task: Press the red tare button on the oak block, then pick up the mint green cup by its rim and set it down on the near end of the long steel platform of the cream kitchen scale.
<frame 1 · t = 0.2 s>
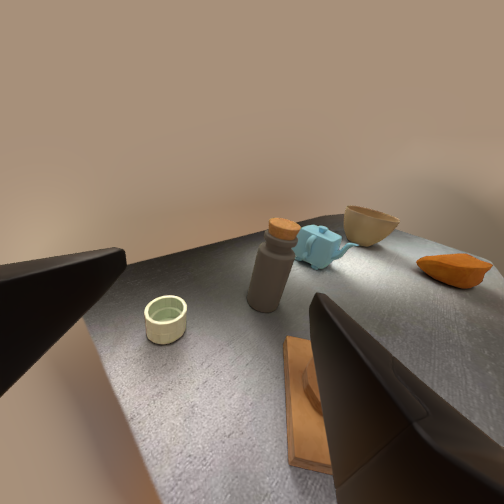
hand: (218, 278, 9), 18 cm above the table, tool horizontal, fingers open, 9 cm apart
flower pot: (357, 242, 75), on the table
bottle: (262, 301, 34), on the table
bread: (440, 277, 60), on the table
teapot: (311, 261, 53), on the table
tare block: (323, 398, 22), on the table
mint green cup: (166, 330, 25), on the table
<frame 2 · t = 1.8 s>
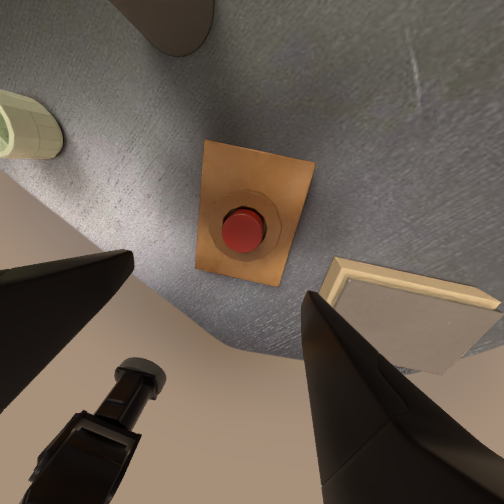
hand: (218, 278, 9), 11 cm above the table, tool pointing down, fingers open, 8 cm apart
bottle: (175, 4, 13), on the table
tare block: (249, 218, 19), on the table
mint green cup: (40, 130, 18), on the table
tare button: (243, 230, 15), point 4 cm above the table, slide at 0.1 cm
scale: (381, 308, 22), on the table
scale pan: (398, 330, 19), point 3 cm above the table, slide at 0.0 cm
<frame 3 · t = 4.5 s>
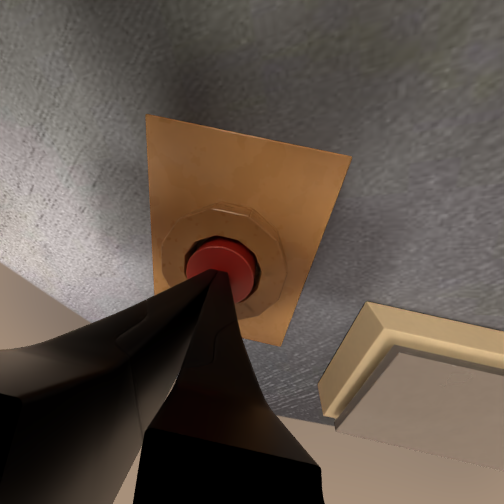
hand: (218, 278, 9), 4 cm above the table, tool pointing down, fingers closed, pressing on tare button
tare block: (235, 245, 12), on the table
tare button: (223, 268, 9), point 3 cm above the table, slide at -0.8 cm, touching gripper
scale: (430, 369, 15), on the table
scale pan: (468, 418, 12), point 3 cm above the table, slide at 0.0 cm
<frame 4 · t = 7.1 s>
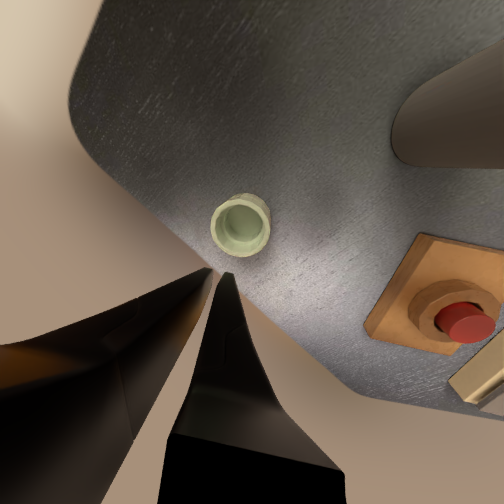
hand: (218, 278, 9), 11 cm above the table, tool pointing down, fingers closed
bottle: (431, 125, 14), on the table
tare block: (429, 294, 20), on the table
mint green cup: (246, 217, 19), on the table
tare button: (462, 322, 16), point 4 cm above the table, slide at 0.1 cm
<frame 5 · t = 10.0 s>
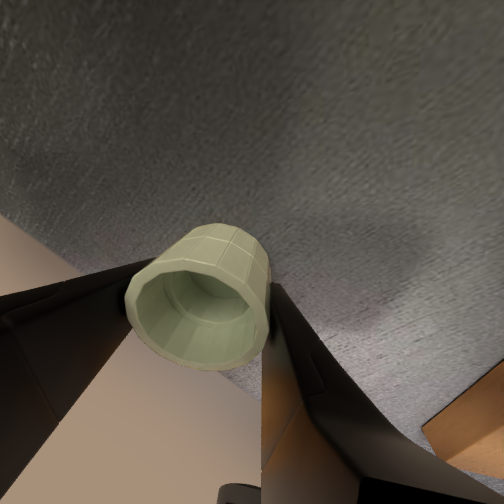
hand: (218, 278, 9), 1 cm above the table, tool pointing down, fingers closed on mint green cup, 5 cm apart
mint green cup: (224, 265, 10), on the table, touching gripper
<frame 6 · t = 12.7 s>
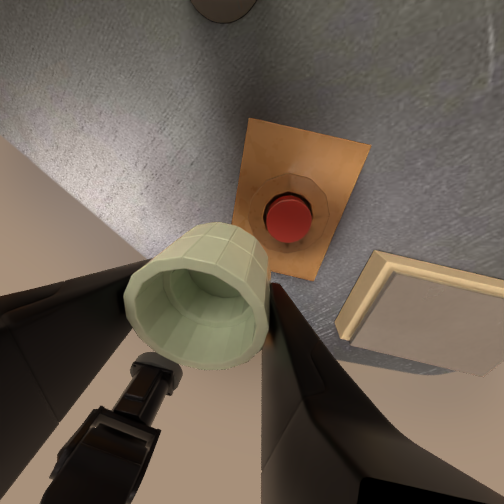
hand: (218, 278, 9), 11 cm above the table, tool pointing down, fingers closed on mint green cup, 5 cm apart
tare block: (285, 207, 18), on the table
mint green cup: (224, 264, 10), point 10 cm above the table, touching gripper
tare button: (287, 219, 14), point 4 cm above the table, slide at 0.1 cm
scale: (418, 305, 21), on the table
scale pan: (442, 328, 18), point 3 cm above the table, slide at 0.0 cm
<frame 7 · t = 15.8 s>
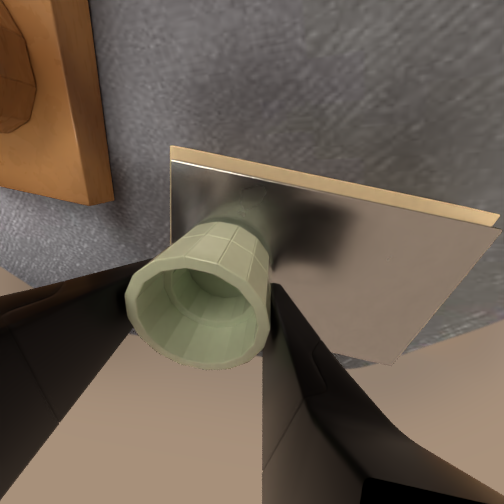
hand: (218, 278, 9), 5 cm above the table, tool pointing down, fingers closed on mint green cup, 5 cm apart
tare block: (18, 69, 10), on the table
mint green cup: (224, 264, 10), point 3 cm above the table, touching gripper, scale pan
scale: (295, 254, 13), on the table
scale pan: (300, 279, 10), point 3 cm above the table, slide at -0.2 cm, touching mint green cup
when the fingers open (5 cm above the table, at t = 15.8 s): mint green cup stays where it is, resting on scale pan.
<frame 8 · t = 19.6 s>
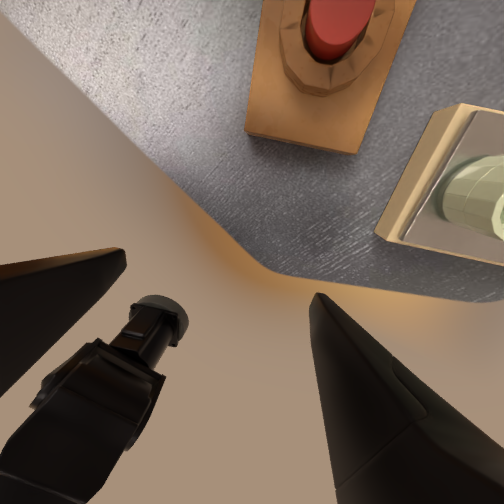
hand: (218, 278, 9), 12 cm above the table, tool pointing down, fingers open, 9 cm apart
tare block: (321, 52, 14), on the table
mint green cup: (476, 192, 14), point 3 cm above the table, touching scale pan
tare button: (337, 13, 10), point 4 cm above the table, slide at 0.1 cm
scale: (483, 197, 17), on the table
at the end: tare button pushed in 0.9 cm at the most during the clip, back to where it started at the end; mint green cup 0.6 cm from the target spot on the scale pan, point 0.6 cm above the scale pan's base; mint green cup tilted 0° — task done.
